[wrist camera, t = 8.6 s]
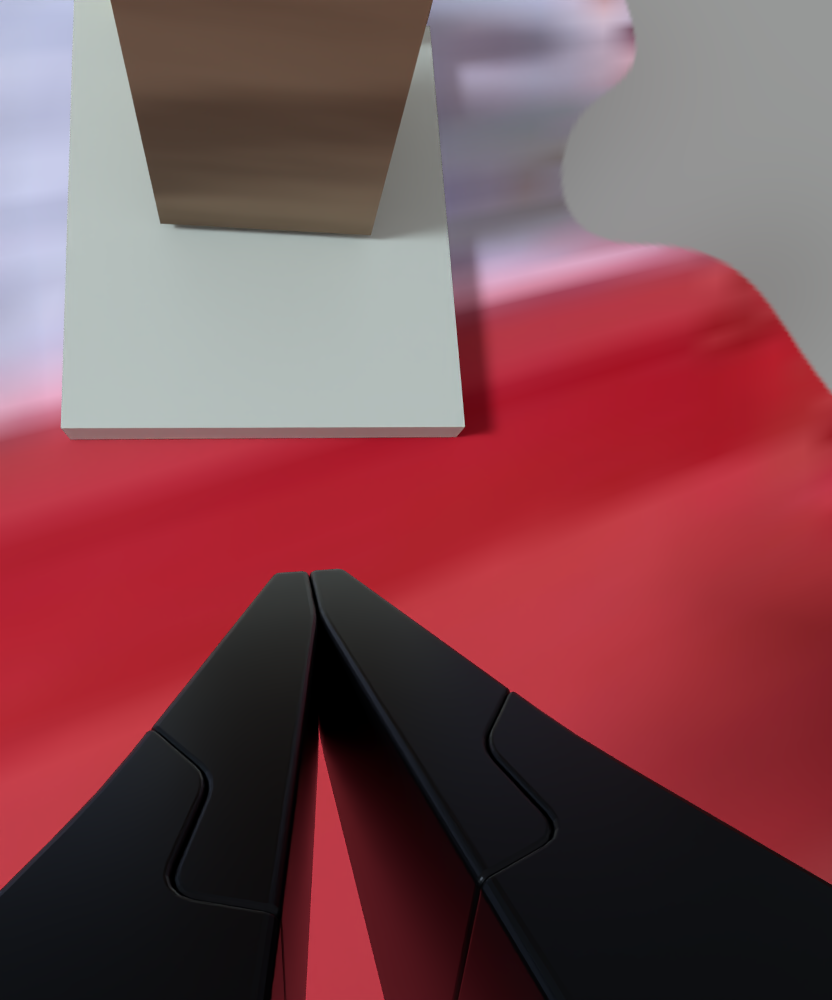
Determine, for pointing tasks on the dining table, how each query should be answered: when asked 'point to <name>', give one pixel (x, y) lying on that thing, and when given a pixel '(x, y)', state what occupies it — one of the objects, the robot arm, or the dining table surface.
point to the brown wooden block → (270, 106)
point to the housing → (249, 292)
